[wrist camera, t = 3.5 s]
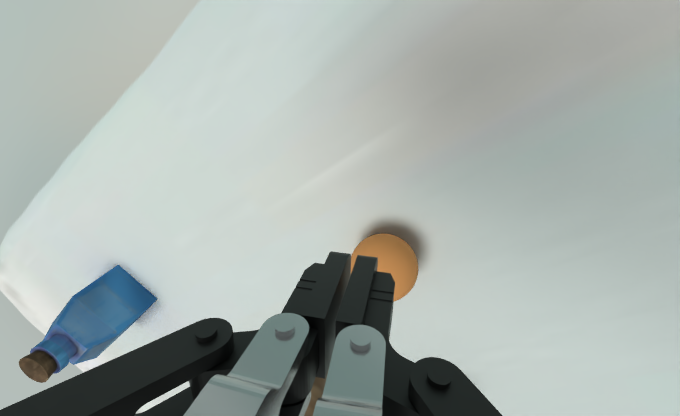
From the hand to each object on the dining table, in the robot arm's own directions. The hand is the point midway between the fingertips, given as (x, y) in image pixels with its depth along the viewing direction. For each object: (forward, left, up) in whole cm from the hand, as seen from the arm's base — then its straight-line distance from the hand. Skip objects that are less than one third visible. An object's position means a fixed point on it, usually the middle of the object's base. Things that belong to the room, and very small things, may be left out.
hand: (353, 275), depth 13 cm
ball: (+10, 0, -16) cm, 19 cm away
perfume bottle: (+21, -32, -19) cm, 43 cm away
